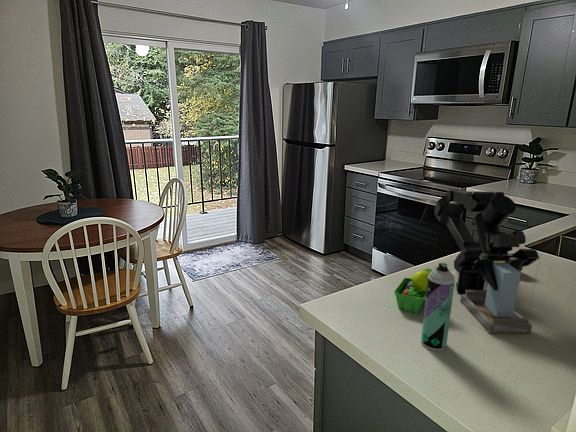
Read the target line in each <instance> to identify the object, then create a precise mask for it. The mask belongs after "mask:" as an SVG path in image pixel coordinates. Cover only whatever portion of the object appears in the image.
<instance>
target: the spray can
mask: <svg viewBox="0 0 576 432" xmlns="http://www.w3.org/2000/svg"><path fill="white" fill-rule="evenodd" d="M455 281H456V275H455V274H454V273H452V272H450V269H449V268H448V264H447V263H444V262H439V263H438V266H437V267H435V269H431V271H430V272H429V275H428V283H427V292H426V298H425V300H424V302H425V303H424V312H423V321H422V329H421V340H420V343H421V345H422V347H423V348H425V349H426V350H429V351H431V350H432V352H443V351H445V350H446V348H447V344H448V337H449V336H448V335H449V329H450V321H451V315H452V314H451V313H452V304H453V300H454V299H453V298H454V291H455V290H454V289H455Z"/></svg>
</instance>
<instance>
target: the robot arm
mask: <svg viewBox="0 0 576 432" xmlns="http://www.w3.org/2000/svg"><path fill="white" fill-rule="evenodd" d="M516 208H517V206H516V202H514V200H513V199H511V198H510V197H509V196H506V195H505V193H504V192H503V191H495V192H494V191H468V190H465V189H462V188H461V189H459V188H458V189H457V188H456V189H453V188H451V189H448V190H447V191H446V193H445V195H444V196H442V197H441V198H439V199H438V200H437V203H436V204H435V207H434V213H433V214H434V216H435V218H436V219H437V220H438V222H439V223H442V224H443V225H446V226H447V228H448V230H449V232H450V233H451V236H452V237H453V239H454V242H455V243H456V245H457V247H458V248H459V250H460V251H459V254H457V256H456V257H455V259H454V261H453V269H454V270H455V271H456V272H457V273H458V274H457V275H458V276H457V282H456V285H455V286H456V292H457V294H458V295H459V294H461V295H465V290H485V283H486V282H487V284H488V283H489V284H490V286H491V287H492V288H493V289H494V290H495V291H497V290H498V285H497V281H496V278H495V274H494V271H493V268H492V265H493V263H494V261H505V263H508V264H510V265H511V266H512V267H514V268H515V269H517V270H518V269H519V266H523V267H528V266H530V265H531V264H533V263H534V262H536V261H538V260H539V259H540V255H539V253H538V251H537V250H536V249H534V248H520V245H523V244H526V243H527V242H526V241H527V240H526V235H525V232H524V231H523V230H515V231H512V233H506V232H505V231H502V230H501V227H500V225H502V224H504V223H505V222H506V221H507V219H509V218H510V216H512V214H513V213H514V212H515V211H516ZM466 210H467V211H468V212H470V213H477V214H476V215H474V217H473V220H472V221H471V226H474V227H475V231H476V234H477V237H478V239H476V240H475V239H474V236H473V235H472V233H471V232H470V230H469V229H468V227H467V224H466V223H465V221H464V220H463V219H462V216H463V214H464V212H465V211H466ZM513 248H519V249H518V250H517V251H515V252H514V253H510V254H508V253H509V252H512V251H513V250H514V249H513ZM485 281H486V282H485Z"/></svg>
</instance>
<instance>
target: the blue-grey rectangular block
mask: <svg viewBox="0 0 576 432" xmlns="http://www.w3.org/2000/svg"><path fill="white" fill-rule="evenodd" d="M492 268H493V271H494V274H495V278H496V281H497V285H498V290H497V291H495V290H494V289H493V288H492V287H491V286H490V284H489V283H488V282H487V287H486V290H487V293H486V299H485V306H486V307H487V308H488V309H489V310H490V311H491V312H492V313H493V314H494V315H495V316H496V317H513V313H514V310H515V308H516V300H517V296H518V291H519V287H520V286H519V285H520V281H521V280H520V279H521V275H522V272H519V271H518V270H517V269H515V268H514V267H512V266H511V265H510V264H508V263H493V265H492Z"/></svg>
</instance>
